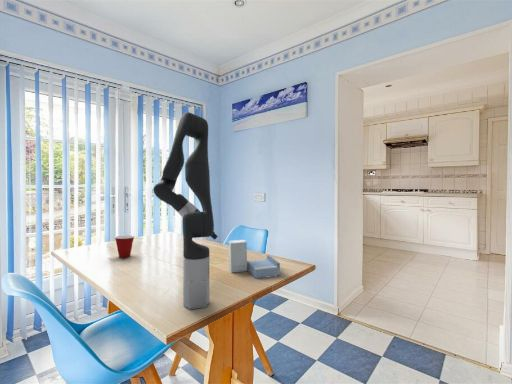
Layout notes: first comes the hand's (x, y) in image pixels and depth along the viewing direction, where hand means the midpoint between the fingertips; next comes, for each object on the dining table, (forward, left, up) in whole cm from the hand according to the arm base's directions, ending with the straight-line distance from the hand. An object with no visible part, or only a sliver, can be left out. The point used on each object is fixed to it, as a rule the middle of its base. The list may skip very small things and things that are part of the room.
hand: (214, 236), depth 128 cm
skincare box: (0, -12, -18) cm, 21 cm away
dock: (-6, -23, -18) cm, 29 cm away
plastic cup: (+42, +45, -18) cm, 64 cm away
